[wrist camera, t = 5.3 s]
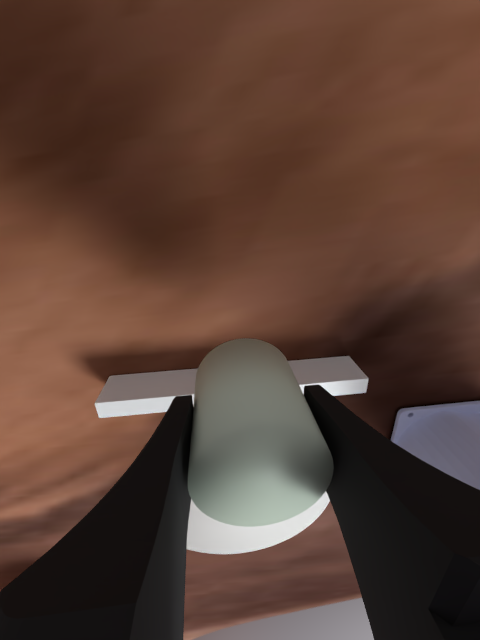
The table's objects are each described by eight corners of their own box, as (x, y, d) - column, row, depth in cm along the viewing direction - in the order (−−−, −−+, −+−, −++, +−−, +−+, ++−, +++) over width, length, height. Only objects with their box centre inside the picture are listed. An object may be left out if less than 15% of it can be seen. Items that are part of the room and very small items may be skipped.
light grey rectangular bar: (348, 355, 22) (368, 378, 19) (346, 368, 23) (366, 392, 20) (109, 375, 21) (94, 403, 18) (113, 389, 21) (99, 418, 18)
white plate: (342, 402, 24) (346, 409, 23) (323, 533, 31) (326, 541, 30) (122, 424, 23) (119, 431, 22) (156, 555, 30) (155, 564, 29)
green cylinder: (293, 334, 12) (342, 416, 8) (288, 414, 14) (326, 518, 10) (190, 341, 12) (179, 431, 7) (199, 422, 14) (194, 534, 9)
